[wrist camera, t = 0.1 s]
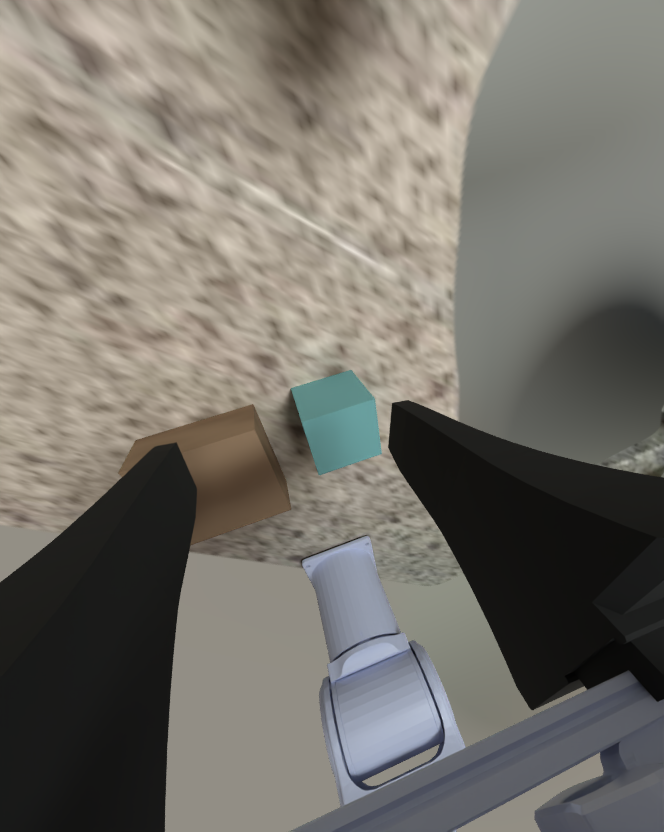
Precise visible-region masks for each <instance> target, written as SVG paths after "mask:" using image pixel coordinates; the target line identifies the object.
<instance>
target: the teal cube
mask: <svg viewBox="0 0 664 832" xmlns="http://www.w3.org/2000/svg"><path fill="white" fill-rule="evenodd" d="M291 390H292V394H293V397H294V400H295V403H296V406H297V409H298V412H299V416H300V419H301V422H302V425H303V428H304V431H305V434H306V437H307V440H308V443H309V446H310V450H311V453H312V456H313V459H314V462H315V465H316V468H317V471H318V474H319V475H322V474H325V473H328V472H330V471H333V470H336V469H339V468H342V467H345V466H348V465H351V464H354V463H356V462H359V461H362V460H365V459H368V458H371V457H374V456H377V455H380V454H382V452H381V444H380V436H379V428H378V420H377V412H376V404H375V398H374V397H373V396H372V395H371V394H370V392H369V391H368V390H367V389H366V387H365V386H364V385H363V384H362V383H361V381H360V380H359V379H358V378H357V377H356V375H355V374H354V373H353V372H352V370H349V371H346V372H343V373H339V374H336V375H333V376H330V377H326V378H323V379H320V380H317V381H313V382H310V383H307V384H304V385H300V386H297V387H294V388H291Z"/></svg>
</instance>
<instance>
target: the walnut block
mask: <svg viewBox="0 0 664 832" xmlns="http://www.w3.org/2000/svg"><path fill="white" fill-rule="evenodd" d="M176 442H177V444H178V447H179V449H180V451H181V453H182V456H183V458H184V460H185V462H186V465H187V467H188V469H189V471H190V474H191V476H192V478H193V480H194V483H195V485H196V487H197V505H196V518H195V524H194V529H193V534H192V539H191V544H190V545H193V544H195V543H198V542H201V541H204V540H207V539H209V538H212V537H215V536H218V535H221V534H224V533H226V532H229V531H232V530H235V529H238V528H241V527H243V526H246V525H249V524H252V523H255V522H258V521H260V520H263V519H266V518H269V517H272V516H274V515H277V514H280V513H283V512H286V511H289V510H291V505H290V500H289V494H288V488H287V483H286V479H285V477H284V474H283V472H282V470H281V467H280V465H279V463H278V460H277V458H276V456H275V454H274V451H273V449H272V447H271V444H270V442H269V440H268V437H267V435H266V433H265V430H264V428H263V426H262V423H261V421H260V419H259V417H258V414H257V412H256V410H255V407H254V405H253V404H252V405H249V406H246V407H243V408H239V409H236V410H233V411H230V412H226V413H223V414H220V415H217V416H213V417H210V418H207V419H204V420H200V421H197V422H194V423H191V424H187V425H184V426H181V427H178V428H174V429H171V430H168V431H165V432H161V433H158V434H155V435H152V436H148V437H145V438H142V439H139V440H136V441H135V443H134V445H133V446H132V448H131V450H130V452H129V454H128V456H127V458H126V459H125V461H124V463H123V465H122V467H121V469H120V471H119V474H120V475H121V476H122V477H123V476H124V475H125V474H126V473H127V472H128V471H129V470H130V469H131V468H132V467H133V466H134V465H135V464H136V463H137V462H138V461H139V460H141V459H142V458H143V457H144V456H145V455H146V454H147V453H148V452H149V451H150V450H151V449H152V448H154V447H155V446H159V445H165V444H170V443H176Z"/></svg>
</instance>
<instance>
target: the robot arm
mask: <svg viewBox="0 0 664 832" xmlns="http://www.w3.org/2000/svg"><path fill="white" fill-rule="evenodd" d="M388 448H389V450H390V452H391V454H392V456H393V458H394V460H395V462H396V464H397V466H398V468H399V470H400V472H401V473H402V475H403V476H404V478H405V479H406V481H407V482H408V483H409V485H410V486H411V488H412V489H413V491H414V492H415V494H416V495H417V497H418V498H419V499H420V501H421V502H422V504H423V505H424V507H425V508H426V510H427V511H428V512H429V514H430V515H431V517H432V518H433V520H434V521H435V523H436V524H437V526H438V528H439V529H440V531H441V532H442V534H443V536H444V538H445V539H446V541H447V543H448V545H449V547H450V548H451V550H452V552H453V554H454V556H455V558H456V559H457V561H458V563H459V565H460V567H461V569H462V571H463V573H464V575H465V577H466V579H467V581H468V582H469V584H470V586H471V588H472V590H473V592H474V594H475V596H476V598H477V601H478V603H479V605H480V607H481V609H482V611H483V613H484V615H485V617H486V619H487V621H488V623H489V625H490V627H491V629H492V632H493V634H494V636H495V639H496V641H497V643H498V645H499V647H500V650H501V652H502V654H503V656H504V658H505V661H506V663H507V665H508V668H509V670H510V672H511V674H512V677H513V679H514V682H515V684H516V686H517V688H518V690H519V691H520V693H521V695H522V696H523V698H524V699H525V701H526V703H527V704H528V706H529V708H530V709H531V710H534V709H536V708H538V707H540V706H543V705H545V704H547V703H549V702H551V701H553V700H555V699H557V698H560V697H562V696H564V695H566V694H568V693H570V692H572V691H574V690H577V689H579V688H581V687H583V686H585V687H586V688H587V690H586V691H585V692H582V693H580V694H578V695H576V696H574V697H572V698H569V699H567V700H565V701H563V702H561V703H559V704H557V705H555V706H553V707H551V708H548V709H546V710H544V711H542V712H540V713H538V714H536V715H534V716H532V717H530V718H527V719H525V720H523V721H521V722H519V723H517V724H515V725H513V726H510V727H508V728H506V729H504V730H502V731H500V732H498V733H496V734H494V735H492V736H489V737H487V738H485V739H483V740H481V741H479V742H477V743H475V744H473V745H470V746H468V747H465V744H464V742H463V739H462V737H461V735H460V732H459V730H458V727H457V725H456V722H455V718H454V715H453V711H452V709H451V706H450V703H449V700H448V698H447V695H446V693H445V690H444V687H443V685H442V683H441V680H440V678H439V676H438V674H437V672H436V670H435V667H434V665H433V663H432V661H431V659H430V657H429V655H428V654H427V652H426V650H425V649H424V647H423V646H421V645H420V644H418V643H417V642H416V641H414V640H412V641H410V642H409V643H408V640H407V638H406V636H405V633H404V632H402V633H401V631H400V629H399V626H398V624H397V621H396V619H395V616H394V614H393V611H392V609H391V607H390V604H389V601H388V599H387V596H386V594H385V591H384V589H383V586H382V584H381V581H380V579H379V576H378V574H377V569H376V564H375V559H374V554H373V550H372V545H371V540H370V537H369V536H364V537H362V538H359V539H357V540H354V541H351V542H349V543H346V544H343V545H341V546H338V547H335V548H333V549H330V550H327V551H325V552H322V553H320V554H317V555H314V556H312V557H309V558H306V559H304V560H303V561H302V566H303V568H304V570H305V572H306V574H307V575H308V577H309V579H310V581H311V583H312V585H313V587H314V589H315V591H316V595H317V600H318V605H319V610H320V615H321V620H322V624H323V629H324V634H325V639H326V644H327V649H328V654H329V658H330V663H329V664H327V667H328V672H329V676H328V677H326V678H324V679H323V683H322V686H321V688H320V692H319V701H320V711H321V720H322V726H323V732H324V737H325V743H326V747H327V752H328V756H329V760H330V764H331V768H332V771H333V774H334V777H335V780H336V785H337V790H338V796H339V801H340V806H341V807H340V808H338V809H336V810H334V811H331V812H329V813H327V814H325V815H323V816H321V817H319V818H317V819H315V820H313V821H311V822H308V823H306V824H304V825H302V826H300V827H298V828H296V829H294V830H291V831H289V832H457V831H456V829H458V828H460V827H462V826H464V825H465V824H467V823H469V822H471V821H473V820H475V819H477V818H479V817H480V816H482V815H484V814H486V813H488V812H490V811H492V810H493V809H495V808H497V807H499V806H501V805H503V804H505V803H506V802H508V801H510V800H512V799H514V798H516V797H518V796H519V795H521V794H523V793H525V792H527V791H529V790H531V789H532V788H534V787H536V786H538V785H540V784H541V783H544V782H545V781H547V780H549V779H551V778H553V777H555V776H557V775H559V774H560V773H562V772H564V771H566V770H568V769H570V768H572V767H573V766H575V765H577V764H579V763H581V762H583V761H585V760H586V759H588V758H590V757H592V756H594V755H596V754H597V753H599V752H600V759H601V763H602V766H603V770H604V773H603V775H602V776H600V777H596V778H593V779H590V780H588V781H585V782H582V783H579V784H577V785H574V786H572V787H570V788H568V789H566V790H564V791H562V792H561V793H559V794H558V795H556V796H555V797H553V798H552V799H550V800H549V801H548V802H547V803H545V804H544V805H542V806H541V807H540V808H538V809H537V810H535V821H536V823H537V825H538V827H539V829H540V831H541V832H664V478H662V477H656V476H649V475H644V474H638V473H633V472H628V471H623V470H618V469H612V468H607V467H603V466H598V465H594V464H589V463H585V462H580V461H576V460H572V459H568V458H564V457H560V456H556V455H553V454H549V453H545V452H542V451H538V450H535V449H532V448H529V447H526V446H522V445H519V444H516V443H513V442H510V441H507V440H504V439H501V438H498V437H496V436H493V435H490V434H488V433H485V432H483V431H480V430H477V429H475V428H473V427H470V426H468V425H465V424H463V423H461V422H458V421H456V420H454V419H451V418H449V417H447V416H445V415H442V414H440V413H438V412H436V411H433V410H431V409H429V408H426V407H424V406H422V405H419V404H417V403H414V402H411V401H408V400H407V401H401V402H396V403H392V412H391V423H390V434H389V445H388ZM196 505H197V487H196V485H195V483H194V480H193V478H192V476H191V474H190V471H189V469H188V467H187V465H186V462H185V460H184V458H183V456H182V453H181V451H180V449H179V447H178V444H177V442H176V443H170V444H165V445H159V446H155V447H154V448H152V449H151V450H150V451H149V452H148V453H147V454H146V455H145V456H144V457H143V458H142V459H141V460H139V461H138V462H137V463H136V464H135V465H134V466H133V467H132V468H131V469H130V470H129V471H128V472H127V473H126V474H125V475H124V476H123V477H122V478H121V479H120V480H119V481H118V482H117V483H116V484H115V485H114V486H113V487H112V488H111V489H110V490H109V491H108V492H107V493H106V494H104V495H103V496H102V497H101V498H100V499H99V500H98V501H97V502H96V503H95V504H94V505H93V506H91V507H90V508H89V509H88V510H87V511H86V512H85V513H84V514H83V515H81V516H80V517H79V518H78V519H77V520H76V521H75V522H74V523H72V524H71V525H70V526H69V527H68V528H67V529H66V530H65V531H64V532H62V533H61V534H60V535H59V536H58V537H57V538H55V539H54V540H53V541H52V542H51V543H49V544H48V545H47V546H46V547H45V548H43V549H42V550H41V551H40V552H38V553H37V554H36V555H35V556H34V557H32V558H31V559H30V560H28V561H27V562H26V563H25V564H23V565H22V566H21V567H20V568H18V569H17V570H16V571H14V572H13V573H12V574H11V575H9V576H8V577H7V578H5V579H4V580H3V581H1V582H0V832H165V795H166V767H167V742H168V724H169V706H170V690H171V678H172V665H173V654H174V643H175V632H176V623H177V613H178V605H179V599H180V592H181V588H182V583H183V578H184V573H185V568H186V564H187V559H188V554H189V549H190V544H191V539H192V534H193V529H194V524H195V518H196ZM438 744H440V745H439V748H438V752H437V754H436V755H435V756H434V757H433V758H432V759H431V760H430V761H428V762H426V763H424V764H422V765H419V766H417V767H415V768H413V769H411V770H409V771H407V772H405V773H403V774H401V775H399V776H397V777H395V778H393V779H391V780H389V781H387V782H384V783H382V784H380V785H377V786H368V785H366V784H365V783H363V782H362V781H363V780H365V779H368V778H369V777H372V776H374V775H376V774H378V773H380V772H382V771H384V770H386V769H388V768H390V767H393V766H395V765H397V764H399V763H401V762H403V761H405V760H407V759H409V758H411V757H413V756H416V755H418V754H420V753H422V752H424V751H426V750H428V749H430V748H432V747H434V746H436V745H438Z"/></svg>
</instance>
